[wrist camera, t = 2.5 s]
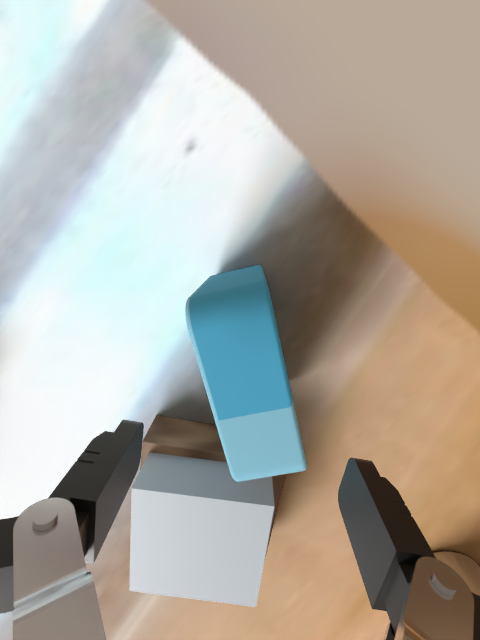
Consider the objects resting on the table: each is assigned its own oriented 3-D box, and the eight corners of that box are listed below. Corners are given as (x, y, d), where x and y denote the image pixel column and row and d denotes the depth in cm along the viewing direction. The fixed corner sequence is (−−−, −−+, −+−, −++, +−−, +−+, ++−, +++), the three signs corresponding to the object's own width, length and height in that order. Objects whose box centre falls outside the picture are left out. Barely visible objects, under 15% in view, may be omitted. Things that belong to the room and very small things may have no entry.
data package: (287, 385, 29) (311, 483, 18) (242, 394, 30) (235, 495, 18) (261, 262, 26) (268, 284, 15) (210, 274, 27) (179, 304, 15)
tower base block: (282, 432, 31) (287, 464, 27) (260, 529, 35) (262, 571, 30) (157, 412, 31) (142, 441, 27) (148, 511, 35) (133, 550, 30)
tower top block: (271, 467, 27) (274, 506, 23) (255, 559, 30) (255, 607, 26) (148, 452, 27) (131, 488, 23) (145, 545, 30) (129, 590, 26)
